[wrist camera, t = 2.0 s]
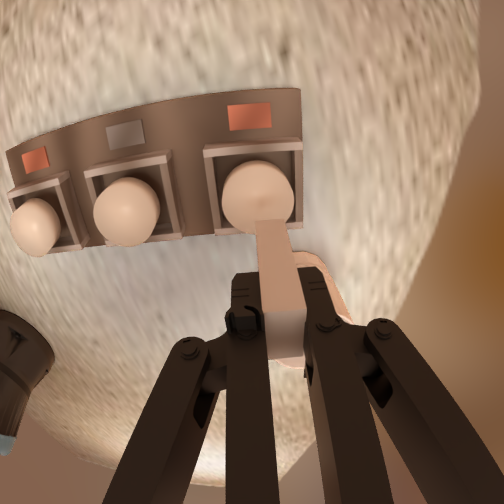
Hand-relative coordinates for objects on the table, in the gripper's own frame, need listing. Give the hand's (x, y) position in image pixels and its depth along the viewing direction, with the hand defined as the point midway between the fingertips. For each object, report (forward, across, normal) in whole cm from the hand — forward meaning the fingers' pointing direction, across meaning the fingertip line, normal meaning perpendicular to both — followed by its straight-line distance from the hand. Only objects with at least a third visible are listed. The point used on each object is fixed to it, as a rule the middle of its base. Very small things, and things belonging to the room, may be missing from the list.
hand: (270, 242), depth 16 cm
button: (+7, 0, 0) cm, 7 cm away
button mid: (+7, -10, 0) cm, 13 cm away
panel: (+13, -10, +1) cm, 16 cm away
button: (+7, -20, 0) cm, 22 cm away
